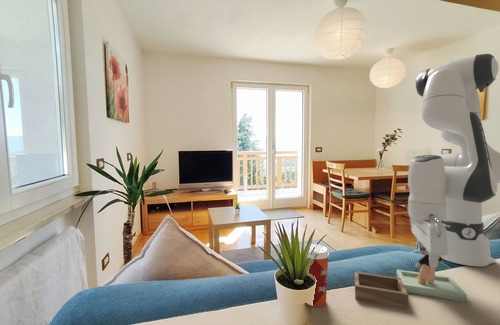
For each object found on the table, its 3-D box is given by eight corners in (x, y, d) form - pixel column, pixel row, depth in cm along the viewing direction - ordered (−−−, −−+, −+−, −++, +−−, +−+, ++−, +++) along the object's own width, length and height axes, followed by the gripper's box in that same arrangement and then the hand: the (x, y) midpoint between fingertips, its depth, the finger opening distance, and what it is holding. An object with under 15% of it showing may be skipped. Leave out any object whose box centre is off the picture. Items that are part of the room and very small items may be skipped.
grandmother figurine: (422, 289, 68) (430, 254, 63) (410, 278, 71) (416, 245, 66) (443, 280, 69) (452, 246, 64) (430, 270, 73) (438, 237, 68)
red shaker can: (332, 311, 59) (331, 254, 59) (300, 308, 60) (299, 252, 60) (328, 294, 67) (327, 243, 67) (300, 291, 68) (299, 242, 68)
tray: (396, 275, 76) (396, 269, 76) (451, 283, 71) (451, 276, 71) (403, 291, 67) (403, 284, 67) (466, 302, 62) (466, 294, 62)
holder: (354, 283, 72) (354, 271, 72) (400, 290, 68) (400, 278, 68) (355, 299, 64) (355, 286, 64) (408, 308, 59) (408, 294, 59)
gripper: (455, 220, 58) (456, 277, 58) (429, 205, 77) (429, 248, 77) (424, 218, 60) (425, 273, 60) (406, 204, 79) (406, 246, 79)
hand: (427, 259), depth 69 cm, fingers open, 8 cm apart
